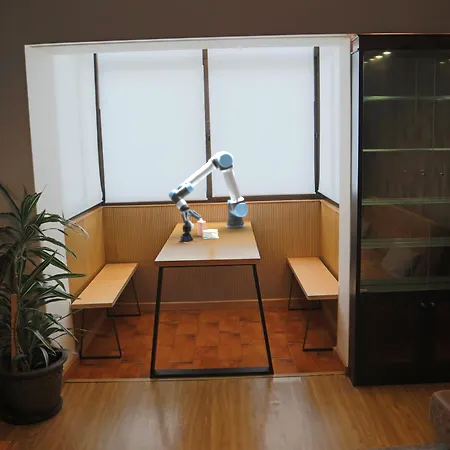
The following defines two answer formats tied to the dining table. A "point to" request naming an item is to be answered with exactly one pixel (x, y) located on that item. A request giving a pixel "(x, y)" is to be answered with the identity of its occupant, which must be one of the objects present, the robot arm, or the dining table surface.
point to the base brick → (210, 233)
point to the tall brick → (201, 227)
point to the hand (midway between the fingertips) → (199, 226)
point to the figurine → (186, 232)
